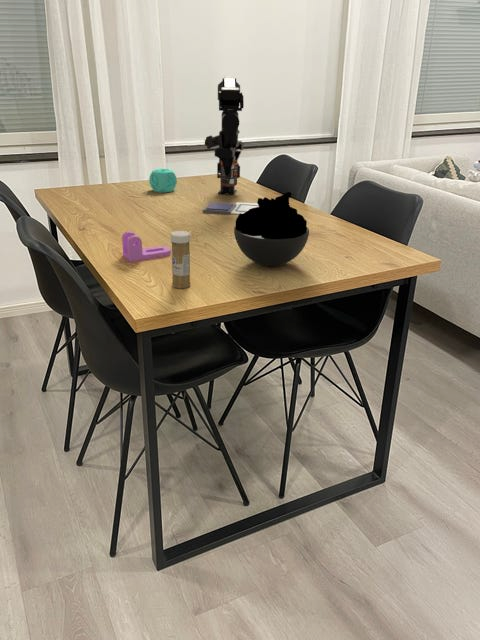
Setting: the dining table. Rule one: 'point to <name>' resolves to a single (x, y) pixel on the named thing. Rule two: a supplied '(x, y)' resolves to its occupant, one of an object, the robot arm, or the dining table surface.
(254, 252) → the coal bowl
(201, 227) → the dining table surface
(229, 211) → the ink pad
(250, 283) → the dining table surface
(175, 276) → the sprinkles bottle
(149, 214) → the dining table surface
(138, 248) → the bracket
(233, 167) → the supplement bottle
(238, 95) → the robot arm
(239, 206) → the form board
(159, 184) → the decorative dice
